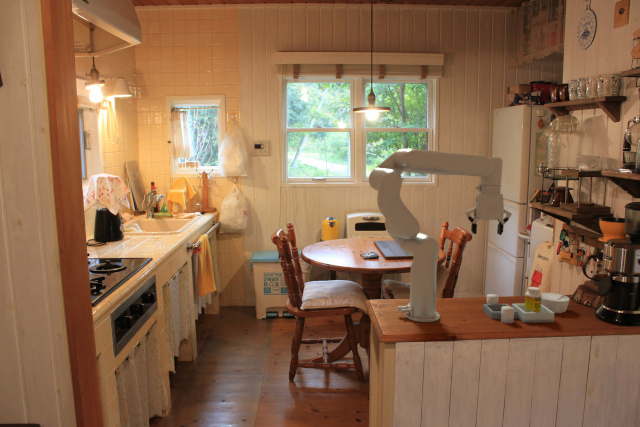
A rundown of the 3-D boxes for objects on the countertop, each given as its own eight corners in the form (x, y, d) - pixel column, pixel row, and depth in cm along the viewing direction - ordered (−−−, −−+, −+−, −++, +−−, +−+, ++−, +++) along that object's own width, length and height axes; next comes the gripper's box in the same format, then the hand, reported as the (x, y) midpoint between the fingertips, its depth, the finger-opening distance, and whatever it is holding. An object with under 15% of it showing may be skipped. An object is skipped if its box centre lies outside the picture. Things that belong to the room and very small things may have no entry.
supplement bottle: (534, 318, 177) (536, 291, 176) (521, 313, 182) (522, 287, 180) (543, 315, 180) (545, 288, 179) (530, 311, 185) (531, 285, 183)
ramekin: (573, 315, 183) (573, 301, 183) (541, 313, 185) (542, 300, 184) (563, 305, 194) (563, 293, 194) (533, 304, 196) (534, 292, 195)
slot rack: (496, 323, 175) (497, 310, 174) (478, 306, 194) (478, 294, 193) (522, 323, 175) (523, 309, 174) (502, 305, 194) (502, 293, 193)
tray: (523, 322, 176) (524, 313, 175) (511, 312, 186) (512, 303, 186) (553, 322, 176) (554, 312, 175) (539, 312, 187) (540, 303, 186)
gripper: (470, 189, 180) (467, 234, 182) (516, 191, 180) (513, 236, 182) (464, 188, 187) (461, 231, 189) (509, 189, 187) (505, 233, 189)
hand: (486, 234), depth 185 cm, fingers open, 9 cm apart
